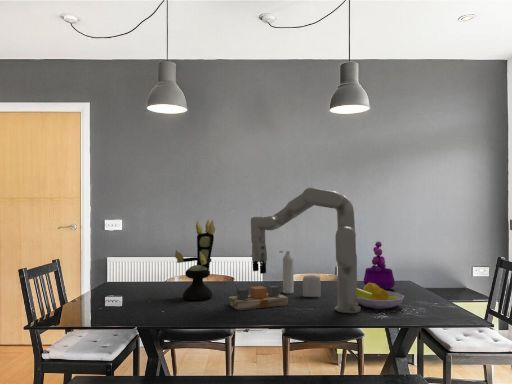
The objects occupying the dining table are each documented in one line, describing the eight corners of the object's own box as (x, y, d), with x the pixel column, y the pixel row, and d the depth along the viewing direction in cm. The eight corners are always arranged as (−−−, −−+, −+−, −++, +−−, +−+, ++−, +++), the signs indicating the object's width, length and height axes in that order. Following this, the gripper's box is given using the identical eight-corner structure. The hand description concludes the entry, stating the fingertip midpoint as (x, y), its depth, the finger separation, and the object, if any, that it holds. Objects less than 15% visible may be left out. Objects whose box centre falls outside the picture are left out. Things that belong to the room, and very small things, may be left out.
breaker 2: (279, 297, 216) (278, 287, 216) (271, 298, 214) (271, 287, 214) (275, 295, 220) (275, 285, 220) (268, 296, 218) (268, 286, 218)
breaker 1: (248, 300, 209) (248, 289, 209) (240, 301, 207) (240, 290, 207) (244, 298, 213) (244, 288, 213) (237, 299, 211) (237, 289, 211)
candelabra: (173, 299, 226) (174, 219, 228) (197, 292, 246) (197, 218, 247) (201, 303, 217) (201, 219, 219) (223, 295, 237) (223, 218, 238)
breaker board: (288, 305, 212) (288, 296, 212) (238, 310, 201) (238, 301, 201) (276, 299, 225) (276, 290, 226) (229, 304, 214) (229, 295, 214)
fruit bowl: (407, 303, 215) (407, 282, 216) (397, 315, 192) (397, 291, 192) (356, 297, 229) (356, 277, 230) (340, 308, 206) (340, 285, 206)
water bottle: (294, 291, 246) (294, 250, 247) (292, 293, 239) (292, 251, 240) (280, 290, 248) (280, 250, 249) (278, 293, 242) (278, 251, 243)
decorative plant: (399, 292, 242) (398, 242, 243) (368, 292, 243) (367, 242, 244) (389, 286, 261) (388, 240, 262) (360, 286, 261) (360, 240, 263)
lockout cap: (266, 297, 212) (266, 288, 212) (255, 299, 209) (255, 289, 209) (261, 295, 218) (261, 286, 218) (250, 296, 215) (250, 287, 215)
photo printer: (320, 295, 234) (320, 274, 234) (320, 297, 230) (320, 275, 230) (302, 295, 235) (302, 274, 235) (302, 297, 231) (302, 275, 231)
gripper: (271, 240, 208) (272, 273, 207) (258, 238, 224) (259, 269, 223) (258, 241, 205) (259, 275, 204) (245, 239, 221) (246, 270, 220)
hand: (259, 272), depth 214 cm, fingers open, 9 cm apart
